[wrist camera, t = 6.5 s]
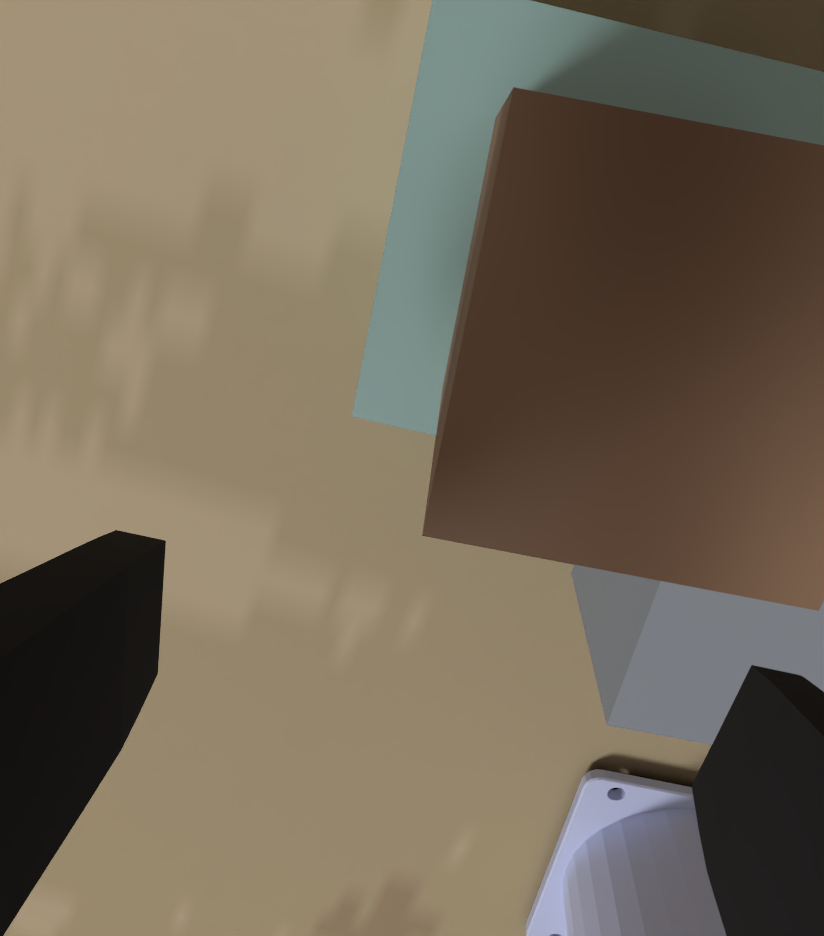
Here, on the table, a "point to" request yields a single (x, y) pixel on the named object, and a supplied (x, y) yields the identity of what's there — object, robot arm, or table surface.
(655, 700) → the grey block
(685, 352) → the walnut block
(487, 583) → the table surface
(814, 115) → the base block
